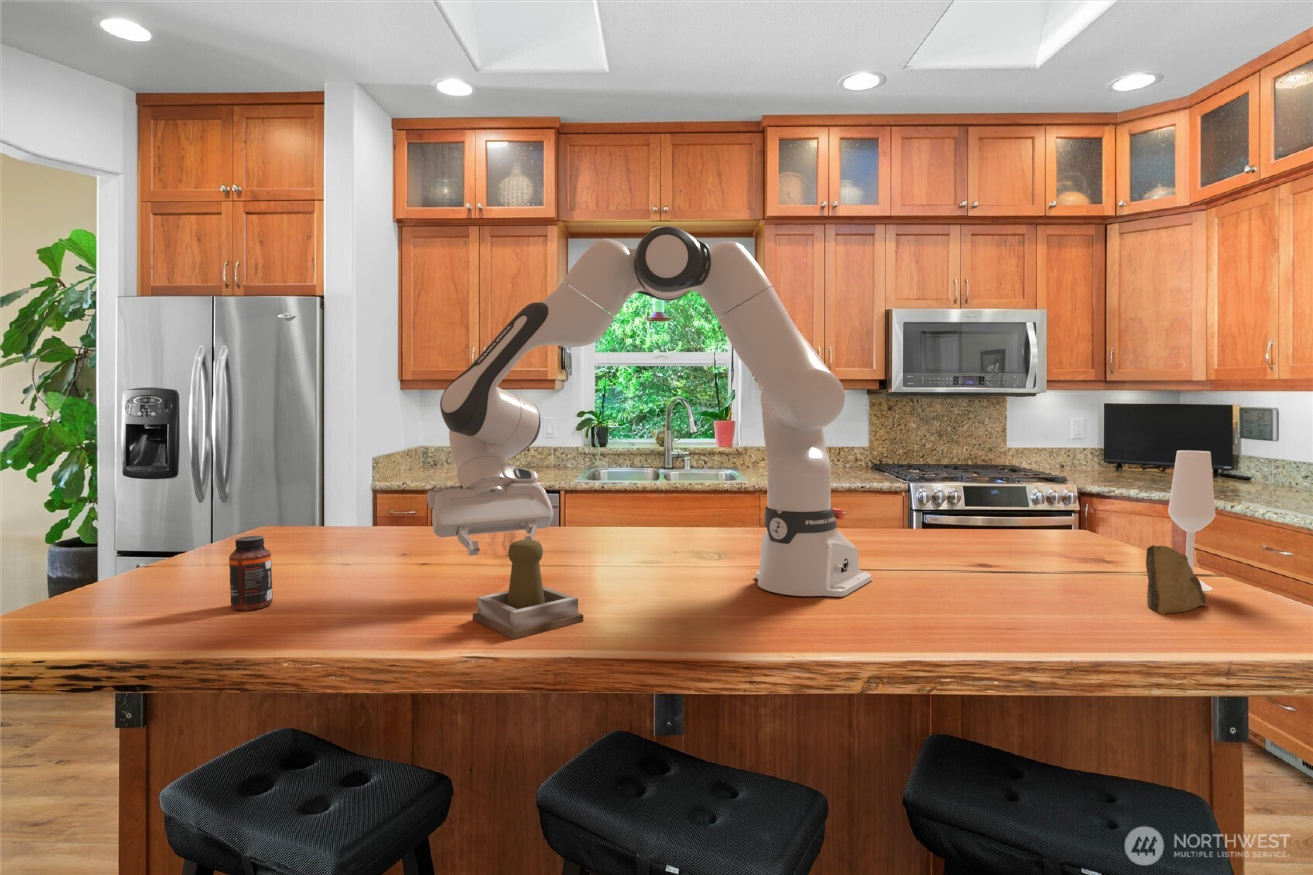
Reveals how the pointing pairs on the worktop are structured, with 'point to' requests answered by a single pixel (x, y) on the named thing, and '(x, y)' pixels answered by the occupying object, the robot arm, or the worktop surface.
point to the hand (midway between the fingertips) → (502, 550)
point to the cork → (525, 574)
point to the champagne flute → (1192, 497)
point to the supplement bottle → (250, 574)
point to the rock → (1171, 582)
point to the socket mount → (527, 614)
